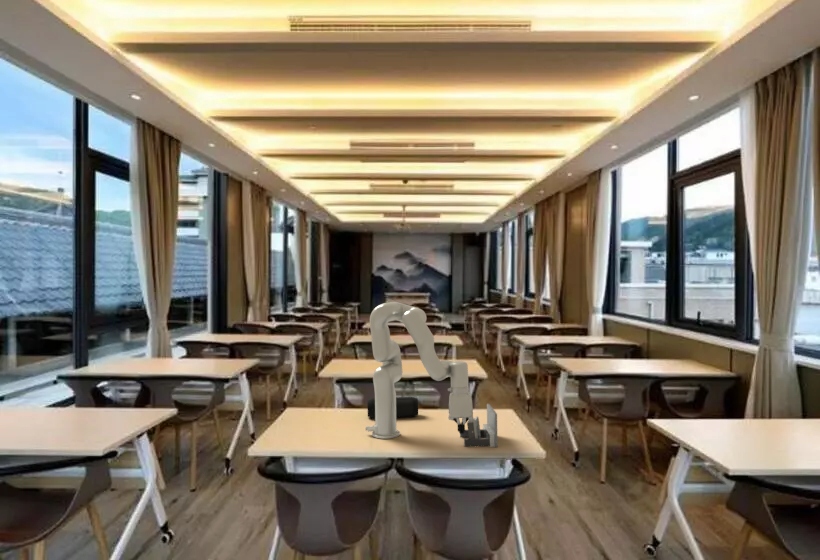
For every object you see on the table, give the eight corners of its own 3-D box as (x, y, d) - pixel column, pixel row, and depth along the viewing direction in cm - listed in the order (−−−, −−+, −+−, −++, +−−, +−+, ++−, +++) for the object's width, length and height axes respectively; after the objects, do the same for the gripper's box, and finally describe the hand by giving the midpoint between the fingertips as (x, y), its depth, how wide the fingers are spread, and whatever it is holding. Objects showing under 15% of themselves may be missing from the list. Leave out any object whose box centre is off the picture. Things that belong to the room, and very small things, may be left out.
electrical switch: (477, 443, 241) (479, 422, 241) (465, 441, 242) (467, 420, 242) (480, 437, 250) (482, 416, 250) (469, 435, 251) (470, 415, 251)
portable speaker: (367, 420, 282) (367, 400, 282) (367, 415, 292) (367, 396, 292) (418, 418, 284) (418, 399, 284) (416, 414, 294) (416, 394, 294)
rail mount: (465, 448, 235) (464, 414, 234) (459, 435, 254) (459, 404, 253) (497, 447, 235) (497, 413, 235) (489, 434, 254) (489, 403, 254)
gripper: (443, 392, 239) (444, 436, 239) (478, 391, 240) (479, 434, 240) (441, 389, 247) (443, 431, 247) (475, 388, 247) (477, 429, 247)
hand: (461, 432), depth 243 cm, fingers closed
